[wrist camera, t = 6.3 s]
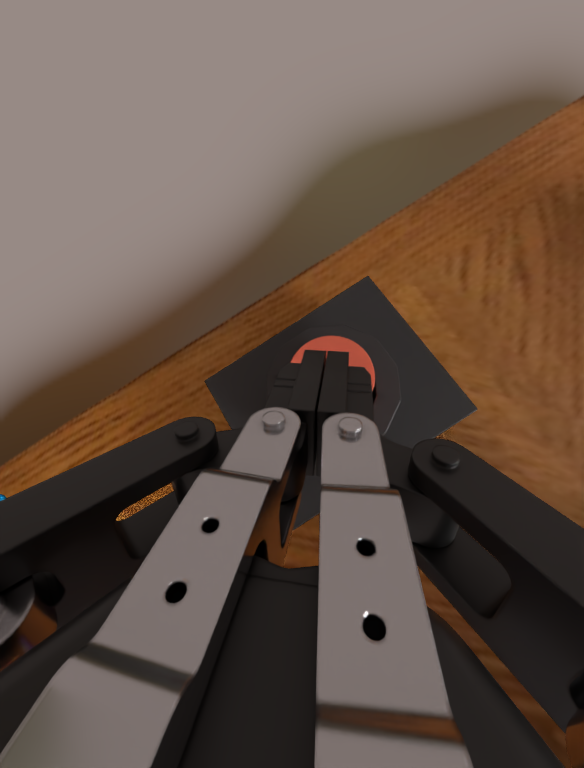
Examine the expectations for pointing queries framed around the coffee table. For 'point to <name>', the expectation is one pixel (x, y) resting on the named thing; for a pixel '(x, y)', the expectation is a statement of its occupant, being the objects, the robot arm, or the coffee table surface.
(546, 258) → the coffee table surface
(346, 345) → the pump button
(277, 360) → the button base
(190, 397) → the coffee table surface
